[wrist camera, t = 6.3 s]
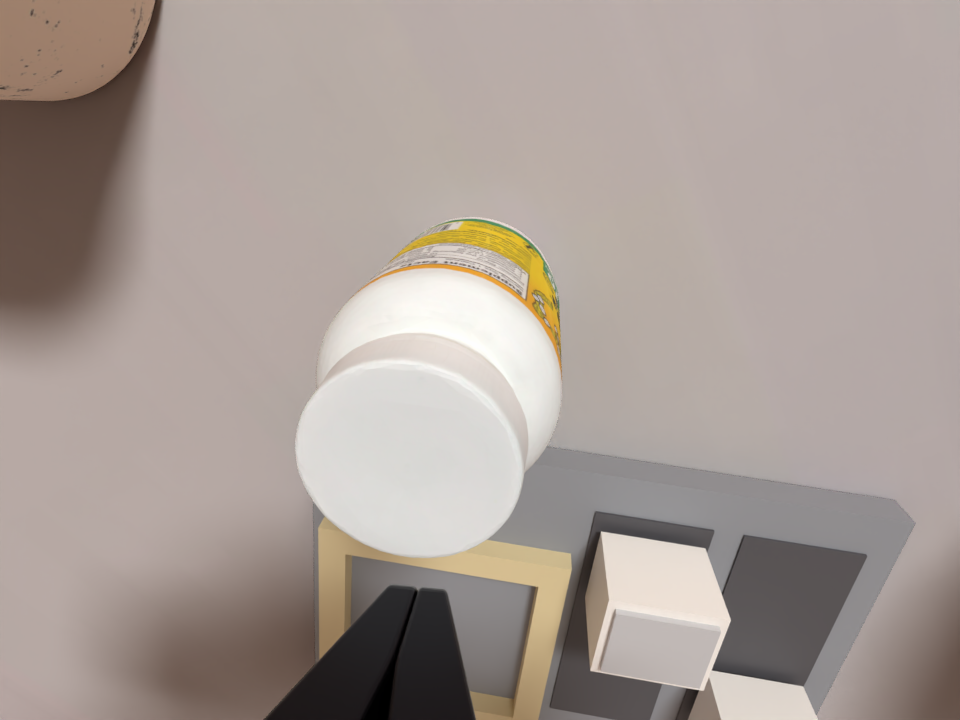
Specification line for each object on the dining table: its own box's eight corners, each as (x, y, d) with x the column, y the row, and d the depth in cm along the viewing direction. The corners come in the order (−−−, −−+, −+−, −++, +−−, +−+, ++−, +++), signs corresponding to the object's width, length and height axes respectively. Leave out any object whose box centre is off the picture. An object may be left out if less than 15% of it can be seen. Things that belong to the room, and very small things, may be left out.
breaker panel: (895, 500, 19) (930, 539, 18) (768, 759, 25) (785, 809, 23) (324, 412, 21) (302, 441, 19) (325, 677, 26) (308, 719, 24)
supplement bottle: (417, 190, 17) (279, 266, 8) (585, 247, 17) (619, 380, 9) (377, 346, 19) (235, 534, 11) (526, 396, 20) (506, 624, 11)
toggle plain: (705, 548, 19) (733, 626, 16) (682, 613, 20) (705, 696, 17) (600, 531, 19) (609, 604, 16) (584, 597, 21) (590, 676, 18)
